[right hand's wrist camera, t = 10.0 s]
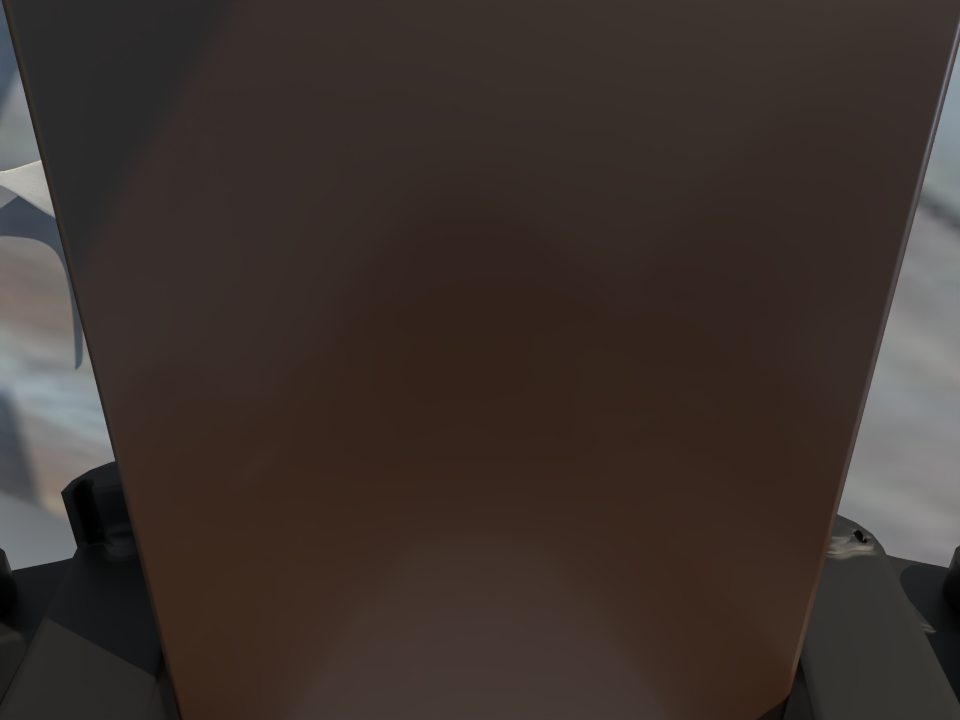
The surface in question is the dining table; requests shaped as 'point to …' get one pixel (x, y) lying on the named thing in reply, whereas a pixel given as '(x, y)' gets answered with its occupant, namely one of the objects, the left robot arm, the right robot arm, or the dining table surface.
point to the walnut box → (483, 332)
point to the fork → (29, 185)
